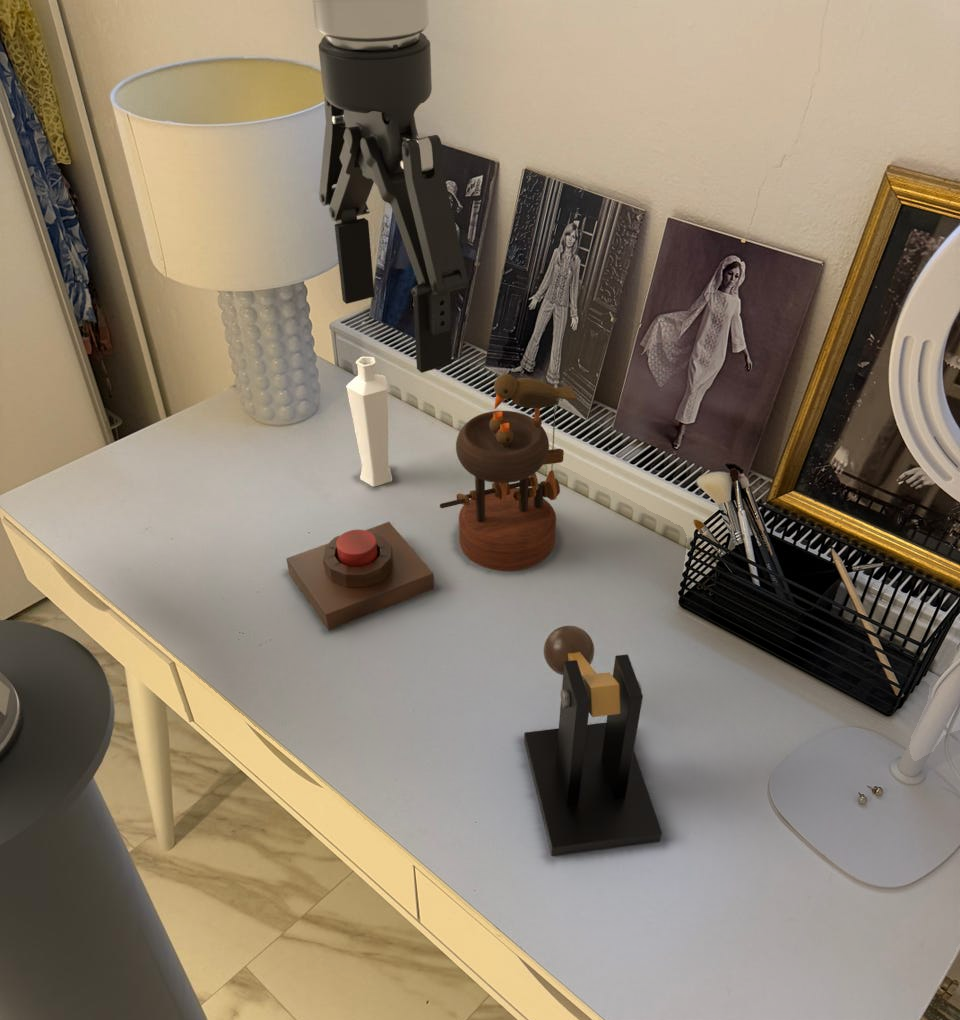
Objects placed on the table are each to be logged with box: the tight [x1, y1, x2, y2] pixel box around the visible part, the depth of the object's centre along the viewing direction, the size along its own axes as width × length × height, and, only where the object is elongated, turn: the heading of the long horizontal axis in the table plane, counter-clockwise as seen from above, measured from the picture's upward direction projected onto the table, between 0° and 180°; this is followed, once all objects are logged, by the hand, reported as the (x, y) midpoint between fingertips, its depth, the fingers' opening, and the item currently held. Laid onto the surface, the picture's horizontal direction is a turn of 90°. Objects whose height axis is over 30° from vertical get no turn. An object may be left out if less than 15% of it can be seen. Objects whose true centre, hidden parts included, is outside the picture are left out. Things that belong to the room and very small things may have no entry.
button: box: [336, 529, 377, 567], centre depth 98 cm, size 4×4×2 cm
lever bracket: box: [523, 654, 663, 857], centre depth 77 cm, size 12×9×14 cm
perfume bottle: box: [346, 356, 393, 487], centre depth 109 cm, size 5×4×15 cm
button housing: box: [285, 521, 435, 631], centre depth 99 cm, size 12×10×4 cm
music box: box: [439, 373, 578, 572], centre depth 98 cm, size 15×11×20 cm
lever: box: [543, 625, 620, 718], centre depth 79 cm, size 15×4×4 cm, turn 9°
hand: (394, 331), depth 79 cm, fingers open, 13 cm apart
